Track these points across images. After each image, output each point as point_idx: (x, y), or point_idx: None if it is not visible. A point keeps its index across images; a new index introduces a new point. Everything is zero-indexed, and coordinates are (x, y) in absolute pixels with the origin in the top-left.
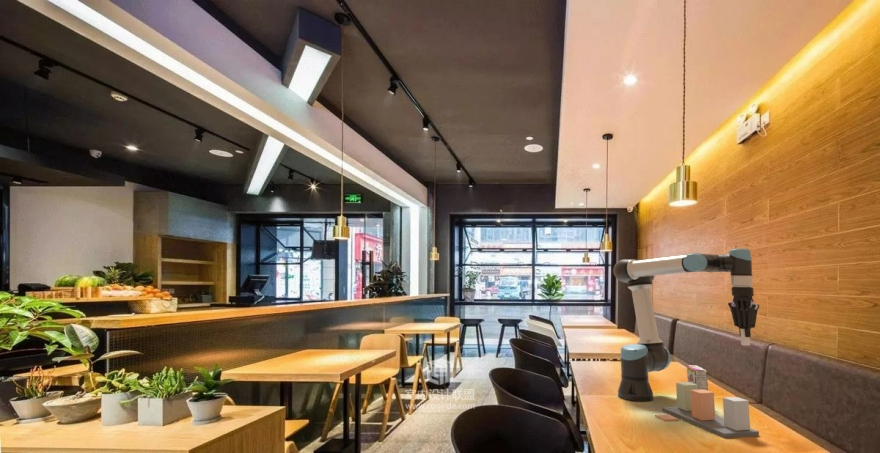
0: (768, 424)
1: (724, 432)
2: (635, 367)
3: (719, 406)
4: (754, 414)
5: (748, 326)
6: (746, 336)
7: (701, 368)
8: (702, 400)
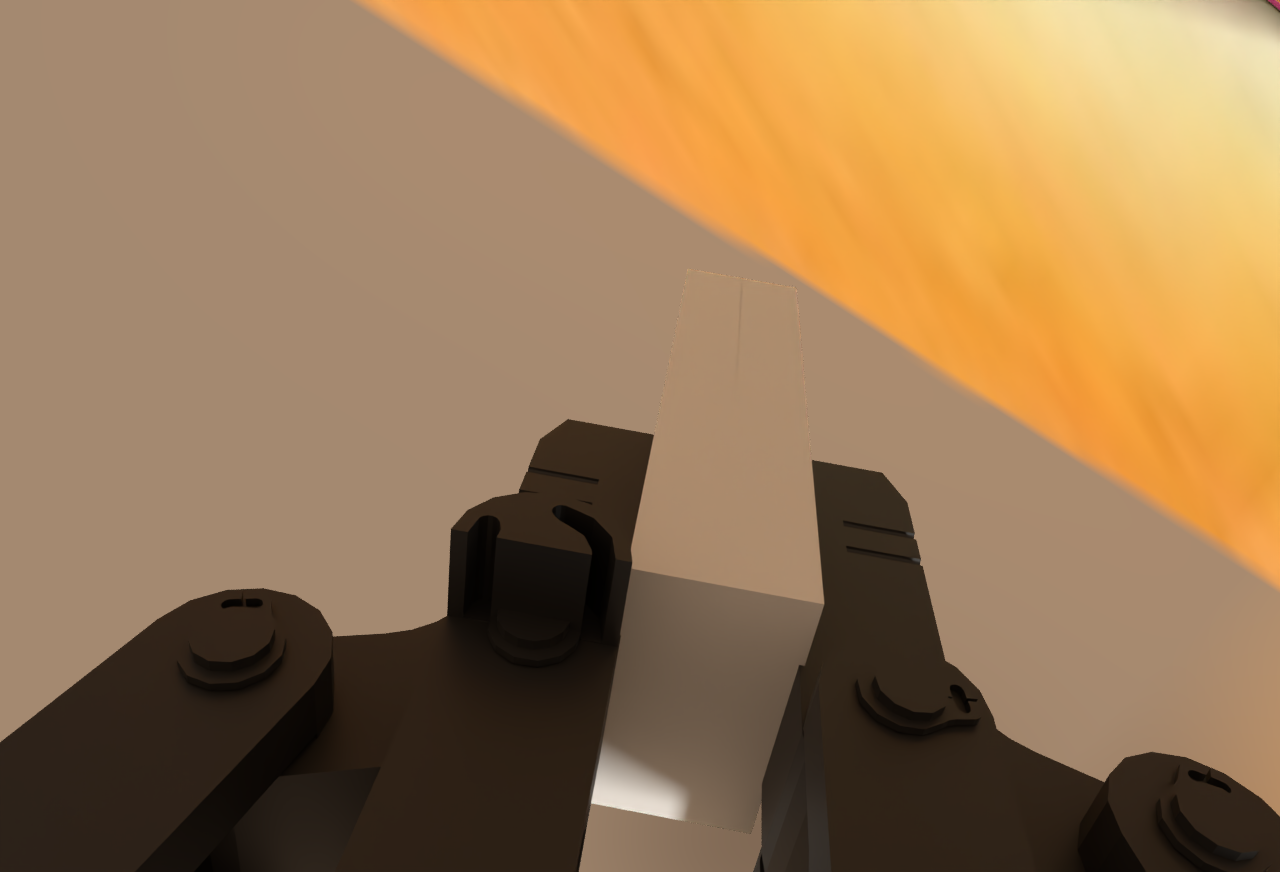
0: (558, 34)
1: None
2: None
3: (1138, 159)
4: (807, 225)
5: (221, 623)
6: (601, 436)
7: None
8: None
